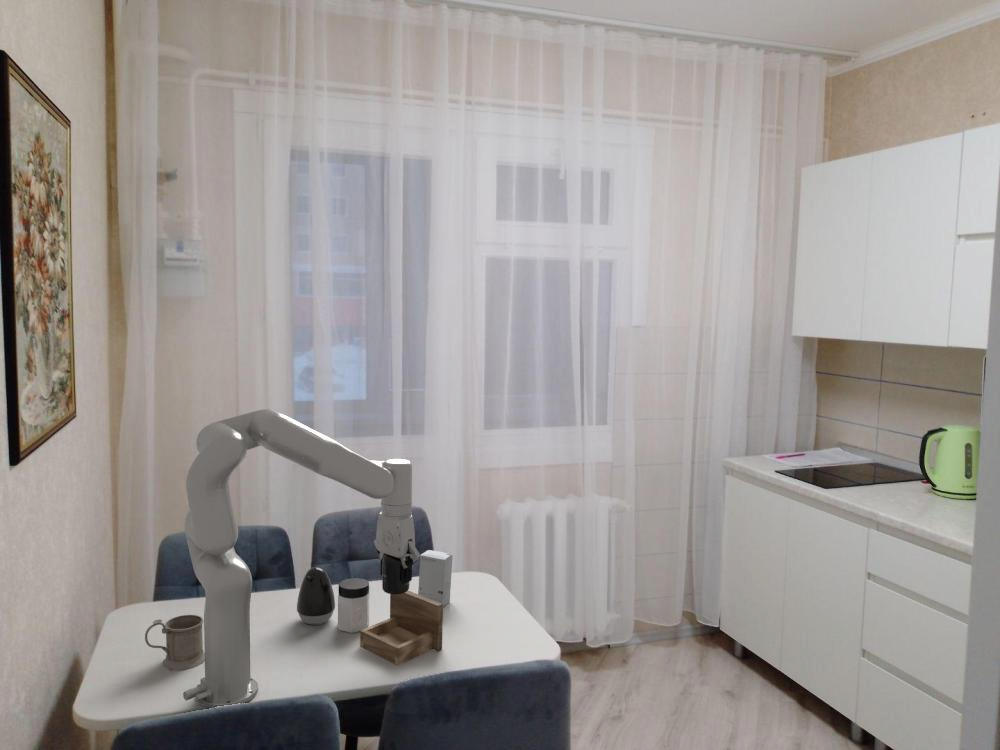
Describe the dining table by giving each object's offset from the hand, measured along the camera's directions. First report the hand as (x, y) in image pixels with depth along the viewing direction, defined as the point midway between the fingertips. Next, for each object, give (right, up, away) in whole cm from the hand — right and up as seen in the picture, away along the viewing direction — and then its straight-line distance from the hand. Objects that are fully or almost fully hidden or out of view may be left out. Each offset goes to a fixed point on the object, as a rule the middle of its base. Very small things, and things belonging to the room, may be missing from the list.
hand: (396, 577), depth 188 cm
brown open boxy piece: (0, -19, +3) cm, 19 cm away
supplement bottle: (0, -3, 0) cm, 3 cm away
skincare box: (+7, -16, +31) cm, 36 cm away
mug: (-52, -19, -8) cm, 56 cm away
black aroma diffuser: (-24, -17, +17) cm, 34 cm away
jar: (-13, -17, +14) cm, 26 cm away
